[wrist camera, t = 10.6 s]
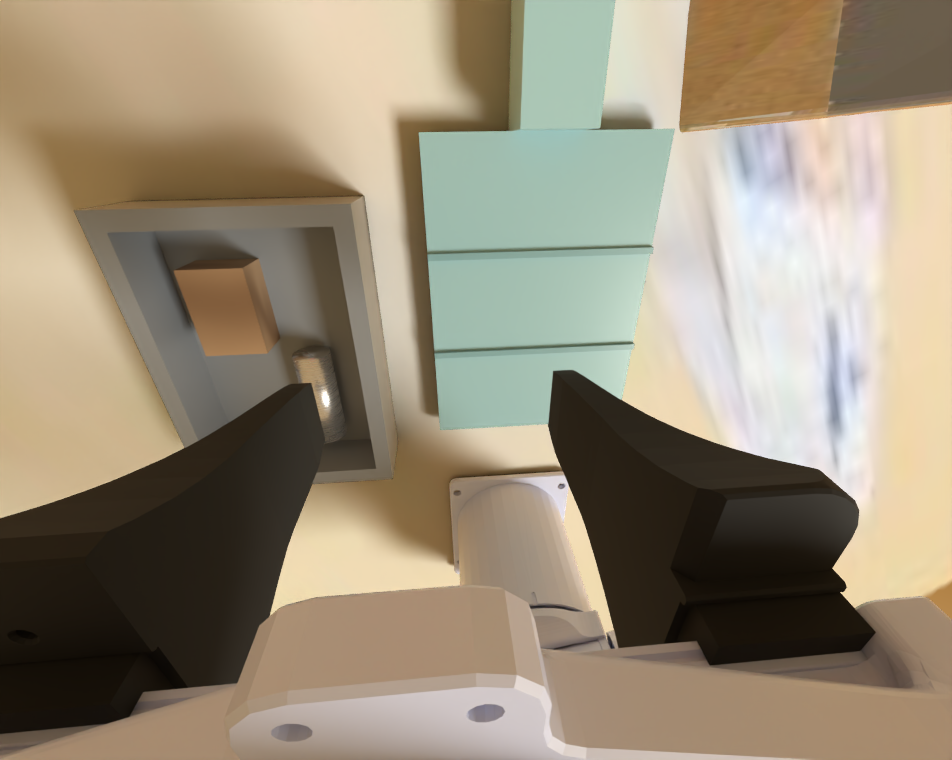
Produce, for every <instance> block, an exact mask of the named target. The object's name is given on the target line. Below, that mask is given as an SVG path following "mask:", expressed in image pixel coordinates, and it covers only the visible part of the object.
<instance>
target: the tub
mask: <svg viewBox="0 0 952 760" xmlns="http://www.w3.org/2000/svg"><path fill="white" fill-rule="evenodd" d="M74 212H75V215H76V217H77V219H78V221H79V223H80V225H81V227H82V229H83V232H84V234H85V236H86V238H87V240H88V242H89V244H90V247H91V249H92V251H93V253H94V255H95V257H96V259H97V262H98V264H99V266H100V268H101V270H102V272H103V274H104V277H105V279H106V281H107V283H108V285H109V287H110V289H111V291H112V294H113V296H114V298H115V300H116V302H117V304H118V306H119V309H120V311H121V313H122V315H123V317H124V319H125V321H126V324H127V326H128V328H129V330H130V332H131V334H132V336H133V339H134V341H135V343H136V345H137V347H138V349H139V351H140V353H141V356H142V358H143V360H144V362H145V364H146V366H147V368H148V371H149V373H150V375H151V377H152V379H153V381H154V383H155V386H156V388H157V390H158V392H159V394H160V396H161V398H162V401H163V403H164V405H165V407H166V409H167V411H168V413H169V415H170V418H171V420H172V422H173V424H174V426H175V428H176V430H177V433H178V435H179V437H180V439H181V441H182V443H183V445H184V448H186V447H188V446H190V445H191V444H193V443H195V442H197V441H199V440H201V439H202V438H204V437H206V436H208V435H209V434H211V433H212V432H214V431H216V430H217V429H219V428H221V427H222V426H224V425H226V424H227V423H229V422H231V421H232V420H234V419H235V418H237V417H239V416H240V415H242V414H243V413H245V412H246V411H248V410H249V409H251V408H252V407H254V406H255V405H257V404H258V403H260V402H261V401H263V400H264V399H266V398H267V397H269V396H270V395H272V394H273V393H275V392H277V391H278V390H280V389H281V388H283V387H285V386H287V385H289V384H297V383H299V381H298V378H297V374H296V370H295V366H294V363H293V359H292V354H293V353H294V352H295V351H297V350H299V349H301V348H304V347H308V346H326V347H328V348H329V349H330V353H331V357H332V362H333V367H334V372H335V376H336V381H337V386H338V390H339V395H340V400H341V405H342V409H343V414H344V419H345V424H346V428H347V433H346V435H345V436H344V437H343V438H342V439H340V440H338V441H336V442H333V443H327V444H324V447H323V451H322V456H321V460H320V464H319V468H318V470H317V473H316V476H315V478H314V481H313V483H312V484H322V483H338V482H353V481H369V480H385V479H393V475H394V468H395V461H396V454H397V447H398V438H397V431H396V424H395V416H394V409H393V402H392V394H391V387H390V380H389V373H388V365H387V358H386V351H385V343H384V336H383V329H382V321H381V314H380V307H379V300H378V292H377V285H376V278H375V270H374V263H373V256H372V249H371V241H370V234H369V227H368V219H367V212H366V205H365V197H364V196H327V197H283V198H239V199H195V200H151V201H128V202H122V203H116V204H109V205H103V206H97V207H91V208H85V209H79V210H74ZM257 258H259V261H260V265H261V269H262V272H263V276H264V280H265V283H266V287H267V291H268V294H269V298H270V302H271V305H272V309H273V313H274V316H275V320H276V324H277V327H278V331H279V334H280V339H279V341H278V342H277V343H276V344H275V345H274V346H273V348H272V349H271V350H270V351H269V352H268V353H267V354H245V355H223V356H206V355H205V352H204V350H203V347H202V344H201V342H200V339H199V337H198V334H197V331H196V329H195V326H194V323H193V321H192V318H191V316H190V313H189V310H188V308H187V305H186V302H185V300H184V297H183V295H182V292H181V289H180V287H179V284H178V281H177V279H176V276H175V274H174V271H173V270H176V269H178V268H180V267H182V266H184V265H187V264H189V263H191V262H193V261H196V260H225V259H257Z"/></svg>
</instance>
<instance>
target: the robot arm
mask: <svg viewBox="0 0 952 760" xmlns="http://www.w3.org/2000/svg"><path fill="white" fill-rule="evenodd" d="M548 427H549V431H550V435H551V439H552V443H553V447H554V450H555V454H556V456H557V458H558V461H559V463H560V466H561V468H562V470H563V471H559V472H544V473H529V474H513V475H498V476H482V477H467V478H455V479H452V480H451V481H450V483H449V490H450V506H451V522H452V538H453V554H454V569H455V572H456V573H457V574H460V586H448V587H436V588H424V589H411V590H399V591H387V592H374V593H362V594H349V595H337V596H325V597H315V598H311V599H307V600H304V601H300V602H296V603H292V604H288V605H285V606H283V607H281V608H279V609H278V610H277V611H275V612H274V613H273V614H272V615H271V616H270V612H271V608H272V604H273V600H274V596H275V592H276V588H277V584H278V580H279V576H280V573H281V569H282V565H283V562H284V558H285V555H286V551H287V547H288V544H289V542H290V539H291V536H292V533H293V530H294V528H295V525H296V523H297V521H298V518H299V516H300V513H301V511H302V508H303V506H304V503H305V501H306V498H307V496H308V493H309V491H310V488H311V486H312V483H313V481H314V478H315V476H316V473H317V470H318V468H319V464H320V460H321V456H322V451H323V447H324V442H325V436H324V432H323V428H322V424H321V420H320V416H319V412H318V408H317V404H316V399H315V395H314V391H313V387H312V383H297V384H289V385H287V386H285V387H283V388H281V389H280V390H278V391H277V392H275V393H273V394H272V395H270V396H269V397H267V398H266V399H264V400H263V401H261V402H260V403H258V404H257V405H255V406H254V407H252V408H251V409H249V410H248V411H246V412H245V413H243V414H242V415H240V416H239V417H237V418H235V419H234V420H232V421H231V422H229V423H227V424H226V425H224V426H222V427H221V428H219V429H217V430H216V431H214V432H212V433H211V434H209V435H208V436H206V437H204V438H202V439H201V440H199V441H197V442H195V443H193V444H191V445H190V446H188V447H186V448H184V449H182V450H180V451H178V452H176V453H174V454H172V455H170V456H168V457H166V458H164V459H162V460H160V461H158V462H155V463H153V464H151V465H148V466H146V467H144V468H141V469H139V470H137V471H134V472H132V473H130V474H127V475H125V476H123V477H120V478H118V479H116V480H113V481H111V482H108V483H106V484H103V485H100V486H98V487H95V488H92V489H90V490H87V491H84V492H81V493H78V494H76V495H73V496H70V497H67V498H64V499H61V500H58V501H55V502H52V503H49V504H46V505H43V506H40V507H37V508H33V509H30V510H27V511H23V512H20V513H17V514H14V515H10V516H7V517H4V518H0V760H952V619H951V618H950V617H948V616H947V615H946V614H945V613H944V612H943V611H942V610H940V609H939V607H937V606H936V605H935V604H934V603H933V602H932V601H931V600H930V599H929V598H927V597H922V596H918V597H906V598H895V599H884V600H874V601H870V602H866V603H863V604H861V605H859V606H857V607H856V608H854V607H853V606H852V605H851V604H850V603H849V602H848V601H847V600H846V599H845V597H844V596H843V595H842V594H841V593H840V592H844V591H845V589H846V588H847V587H846V584H845V582H844V581H843V580H842V578H841V577H840V576H839V575H838V574H837V573H836V572H835V571H834V570H833V569H832V568H833V566H834V565H835V563H836V562H837V560H838V558H839V557H840V555H841V554H842V552H843V551H844V549H845V548H846V546H847V545H848V543H849V542H850V540H851V539H852V537H853V535H854V533H855V530H856V528H857V526H858V518H859V509H858V507H857V504H856V502H855V500H854V499H853V498H851V497H850V496H849V495H848V494H847V493H846V492H844V491H843V490H842V489H841V488H840V487H839V486H838V485H836V484H835V483H834V482H833V481H832V480H831V479H829V478H828V477H827V476H826V475H825V474H824V473H822V472H821V471H820V470H818V469H814V468H810V467H805V466H801V465H796V464H791V463H787V462H782V461H778V460H773V459H768V458H764V457H761V456H757V455H753V454H750V453H746V452H743V451H739V450H736V449H732V448H729V447H726V446H723V445H720V444H717V443H714V442H711V441H708V440H705V439H703V438H700V437H697V436H694V435H692V434H689V433H687V432H684V431H682V430H679V429H677V428H675V427H672V426H670V425H668V424H666V423H664V422H661V421H659V420H657V419H655V418H653V417H651V416H649V415H647V414H645V413H643V412H642V411H640V410H638V409H636V408H634V407H633V406H631V405H629V404H627V403H626V402H624V401H622V400H621V399H619V398H617V397H616V396H614V395H612V394H611V393H609V392H608V391H606V390H605V389H603V388H601V387H600V386H598V385H597V384H595V383H594V382H592V381H591V380H589V379H588V378H586V377H585V376H583V375H581V374H580V373H578V372H576V371H574V370H558V371H553V377H552V388H551V399H550V411H549V422H548ZM561 483H563V484H561ZM559 484H561V485H559ZM568 486H569V487H570V489H571V492H572V494H573V496H574V499H575V501H576V503H577V506H578V508H579V510H580V513H581V515H582V518H583V521H584V524H585V526H586V530H587V533H588V536H589V540H590V543H591V546H592V550H593V553H594V556H595V560H596V563H597V567H598V571H599V574H600V578H601V581H602V585H603V589H604V592H605V596H606V600H607V604H608V608H609V612H610V616H611V620H612V624H613V628H614V630H612V631H610V632H607V633H606V634H607V639H606V636H605V633H604V630H603V627H602V624H601V621H600V618H599V615H598V612H597V611H595V610H593V611H592V608H591V605H590V602H589V599H588V596H587V593H586V590H585V587H584V584H583V581H582V578H581V575H580V572H579V569H578V566H577V563H576V560H575V557H574V554H573V551H572V548H571V545H570V542H569V539H568V536H567V533H566V530H565V527H564V516H565V509H566V501H567V494H568ZM456 490H459V491H458V492H455V491H456ZM269 616H270V617H269Z"/></svg>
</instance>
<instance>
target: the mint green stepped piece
mask: <svg viewBox="0 0 952 760" xmlns="http://www.w3.org/2000/svg"><path fill="white" fill-rule="evenodd" d="M614 7H615V0H511V38H510V83H509V129H508V131H475V132H419V144H420V158H421V171H422V185H423V199H424V213H425V227H426V241H427V257H428V269H429V283H430V297H431V311H432V324H433V338H434V355H435V366H436V380H437V394H438V408H439V422H440V430H453V429H470V428H487V427H504V426H521V425H539V424H548V422H549V411H550V399H551V388H552V377H553V371H558V370H574V371H576V372H578V373H580V374H581V375H583V376H585V377H586V378H588V379H589V380H591V381H592V382H594V383H595V384H597V385H598V386H600V387H601V388H603V389H605V390H606V391H608V392H609V393H611V394H612V395H614V396H616V397H617V398H619V399H621V400H622V396H623V391H624V386H625V381H626V376H627V371H628V366H629V360H630V355H631V350H632V349H634V343H633V340H634V335H635V330H636V325H637V319H638V314H639V309H640V304H641V299H642V294H643V289H644V284H645V278H646V273H647V268H648V263H649V258H650V254H652V253H653V248H654V247H652V243H653V238H654V232H655V227H656V222H657V217H658V212H659V207H660V202H661V197H662V191H663V186H664V181H665V176H666V171H667V166H668V161H669V156H670V150H671V145H672V140H673V135H674V130H675V129H621V130H589V129H597V128H600V126H601V117H602V109H603V100H604V92H605V83H606V75H607V66H608V58H609V49H610V41H611V32H612V24H613V15H614Z"/></svg>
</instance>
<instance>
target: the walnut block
mask: <svg viewBox="0 0 952 760" xmlns="http://www.w3.org/2000/svg"><path fill="white" fill-rule="evenodd" d="M173 271H174V274H175V276H176V279H177V281H178V284H179V287H180V289H181V292H182V295H183V297H184V300H185V302H186V305H187V308H188V310H189V313H190V316H191V318H192V321H193V323H194V326H195V329H196V331H197V334H198V337H199V339H200V342H201V344H202V347H203V350H204V352H205V355H206V356H223V355H245V354H267V353H268V352H269V351H270V350H271V349H272V348H273V346H274V345H275V344H276V343H277V342H278V341H279V339H280V334H279V331H278V327H277V324H276V320H275V316H274V313H273V309H272V305H271V302H270V298H269V294H268V291H267V287H266V283H265V280H264V276H263V272H262V269H261V265H260V261H259V258H257V259H225V260H196V261H193V262H191V263H189V264H187V265H184V266H182V267H180V268H178V269H176V270H173Z"/></svg>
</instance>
